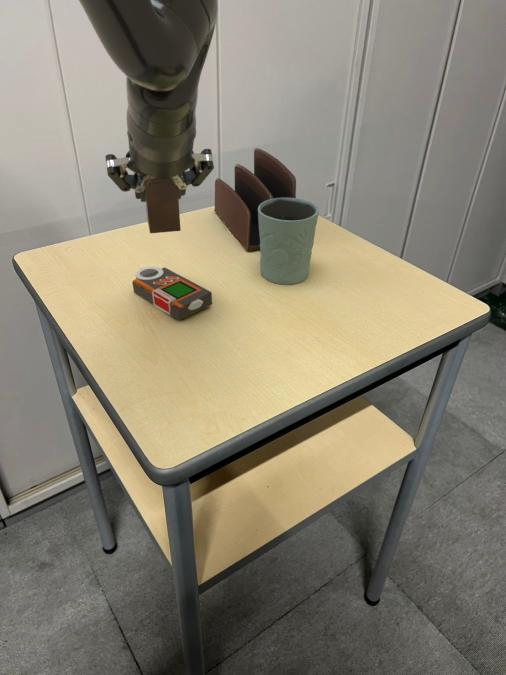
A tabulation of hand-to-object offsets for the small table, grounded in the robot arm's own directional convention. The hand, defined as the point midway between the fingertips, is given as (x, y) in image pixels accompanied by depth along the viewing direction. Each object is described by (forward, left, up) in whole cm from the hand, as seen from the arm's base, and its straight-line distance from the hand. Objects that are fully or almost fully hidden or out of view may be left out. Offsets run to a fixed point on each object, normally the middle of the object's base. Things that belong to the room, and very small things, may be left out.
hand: (159, 194), depth 75 cm
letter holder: (+20, +22, -17) cm, 35 cm away
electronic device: (0, -1, -17) cm, 17 cm away
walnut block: (0, -2, -4) cm, 4 cm away
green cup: (+21, +3, -17) cm, 27 cm away
